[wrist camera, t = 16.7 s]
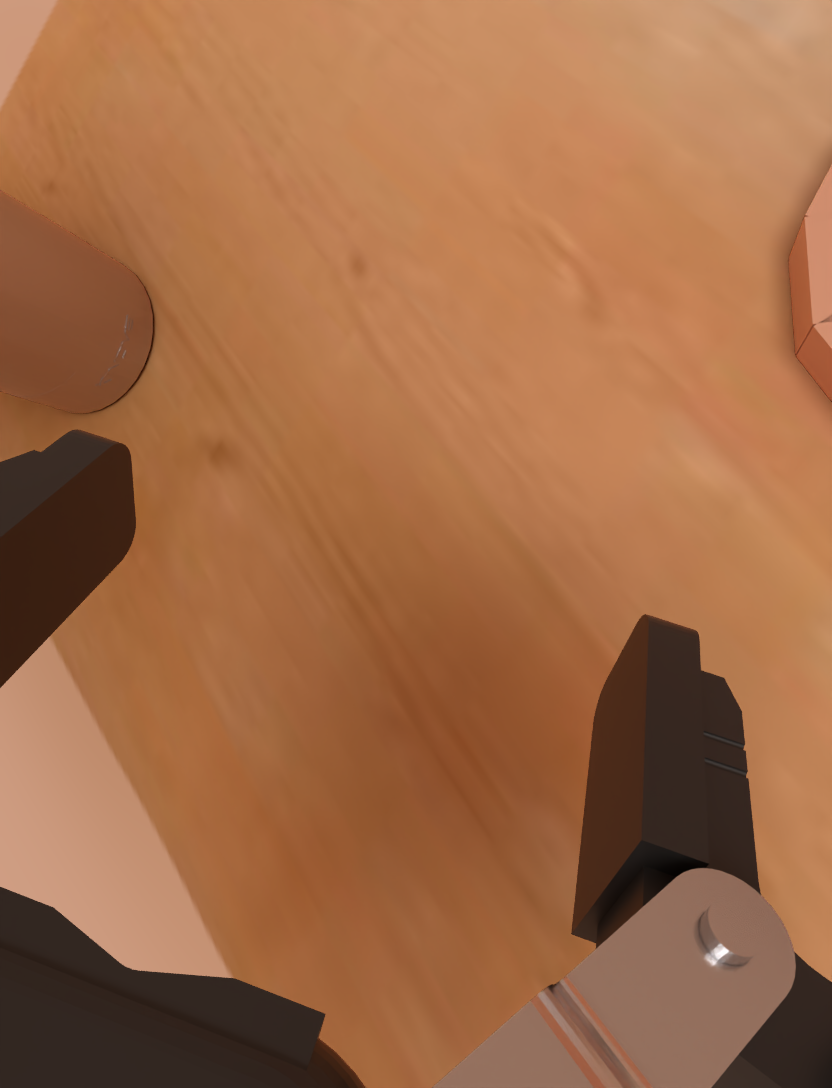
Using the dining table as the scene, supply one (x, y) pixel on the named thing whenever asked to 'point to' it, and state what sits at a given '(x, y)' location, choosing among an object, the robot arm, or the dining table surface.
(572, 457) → the dining table surface
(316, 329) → the dining table surface
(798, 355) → the bowl
